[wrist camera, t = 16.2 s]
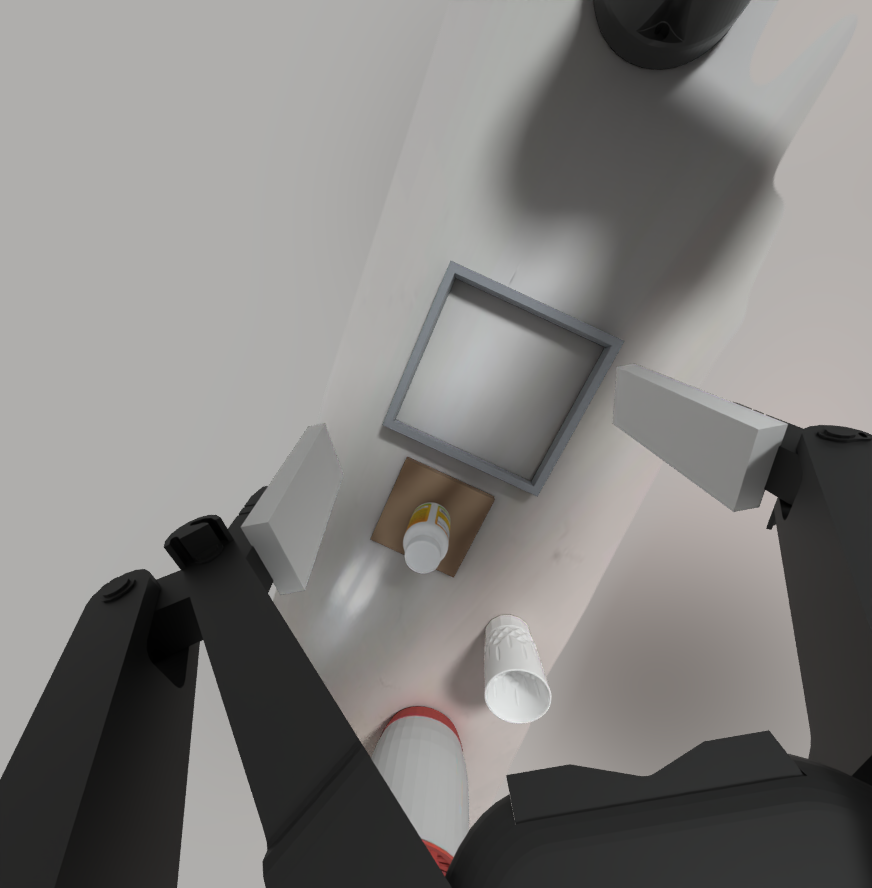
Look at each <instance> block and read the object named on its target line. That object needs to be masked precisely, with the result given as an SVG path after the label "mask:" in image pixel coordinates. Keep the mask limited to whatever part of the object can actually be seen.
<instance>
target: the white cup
mask: <svg viewBox="0 0 872 888" xmlns="http://www.w3.org/2000/svg"><path fill="white" fill-rule="evenodd" d="M484 697H485V702H486V704H487V706H488V708H489V709H490V711H491V712H492V713H493V714H494V715H495V716H497V717H498V718H500V719H502V720H504V721H506V722H510V723H516V724H524V723H529V722H533V721H535V720H537V719H539V718H541V717H542V716H543V715H544V714H545V713H546V712H547V710H548V709H549V706H550V704H551V691H550V689H549V685H548V682H547V679H546V676H545V672H544V669H543V666H542V663H541V660H540V657H539V654H538V651H537V649H536V645H535V643H534V641H533V639H532V635H531V633H530V630H529V627H528V625H527V624H526V623H525V622H524V621H523V620H522V619H521V618H518V617H515V616H512V615H500V616H498V617H496V618H494V619H492V620H491V621H490V622H489V624H488V625H487V626H486V630H485V645H484Z"/></svg>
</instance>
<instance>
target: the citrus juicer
mask: <svg viewBox="0 0 872 888" xmlns="http://www.w3.org/2000/svg"><path fill="white" fill-rule="evenodd" d="M371 759H372V761H373V762H374V764H375V766H376V767H377V769H378V770H379V772H380V774H381V775H382V777H383V778H384V780H385V782H386V783H387V785H388V786H389V788H390V790H391V791H392V793H393V794H394V796H395V798H396V799H397V801H398V802H399V804H400V806H401V807H402V809H403V810H404V812H405V814H406V815H407V817H408V818H409V820H410V822H411V823H412V825H413V826H414V828H415V829H416V831H417V833H418V834H419V836H420V837H421V839H422V841H423V842H424V844H425V845H426V847H427V849H428V850H429V852H430V853H431V855H432V857H433V858H434V860H435V861H436V863H437V865H438V866H439V868H440V869H441V871H442V873H443V874H444V876H445V875H446V873H447V870H448V868H449V866H450V864H451V862H452V860H453V858H454V855H455V853H456V851H457V849H458V847H459V846H460V844H461V843H462V841H463V839H464V838H465V836H466V835H467V833H468V832H469V791H468V777H467V771H466V764H465V760H464V756H463V749H462V745H461V741H460V738H459V736H458V733H457V730H456V728H455V726H454V724H453V723H452V722H451V721H450V719H449V718H447V717H446V716H445V715H444V714H442V713H440V712H439V711H437V710H434V709H431V708H427V707H418V706H417V707H410V708H406V709H403V710H401V711H399V712H398V713H397V714H395V715H394V716H393V718H392V719H391V720H390V722H389V723H388V724H387V726H386V727H385V729H384V730H383V733H382V735H381V737H380V739H379V741H378V743H377V745H376V747H375V750H374V752H373V754H372V757H371Z"/></svg>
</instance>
